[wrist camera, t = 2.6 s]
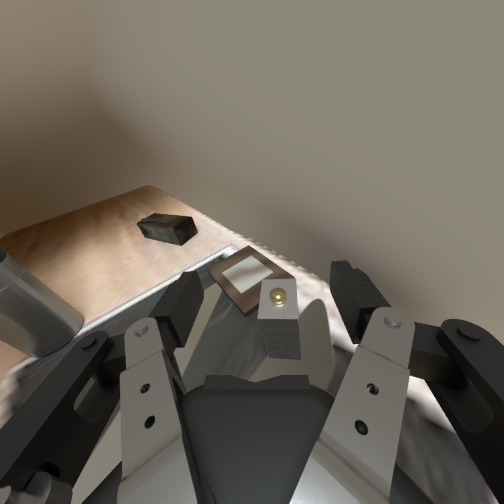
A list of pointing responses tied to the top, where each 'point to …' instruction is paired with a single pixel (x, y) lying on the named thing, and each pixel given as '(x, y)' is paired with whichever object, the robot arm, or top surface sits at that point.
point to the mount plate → (245, 277)
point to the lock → (280, 318)
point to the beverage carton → (168, 228)
